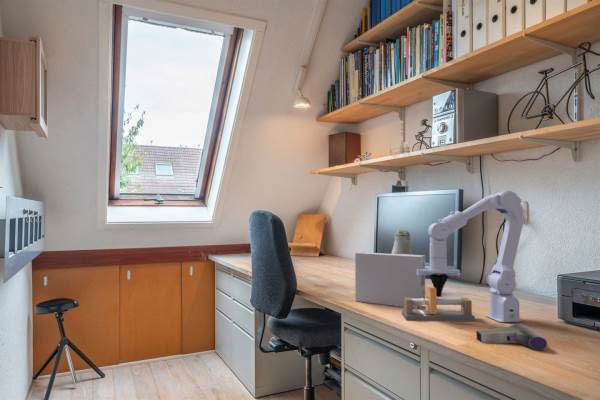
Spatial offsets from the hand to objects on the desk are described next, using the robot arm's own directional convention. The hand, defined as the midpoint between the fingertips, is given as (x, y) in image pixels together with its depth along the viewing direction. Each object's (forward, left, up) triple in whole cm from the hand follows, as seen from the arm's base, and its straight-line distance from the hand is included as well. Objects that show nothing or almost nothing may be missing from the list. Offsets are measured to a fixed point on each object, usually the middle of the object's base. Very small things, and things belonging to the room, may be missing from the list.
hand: (438, 296), depth 151 cm
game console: (+24, +9, -8) cm, 27 cm away
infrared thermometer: (-31, -6, -8) cm, 32 cm away
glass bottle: (+49, -7, -8) cm, 51 cm away
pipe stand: (0, 0, -7) cm, 7 cm away
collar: (0, +3, -5) cm, 6 cm away
